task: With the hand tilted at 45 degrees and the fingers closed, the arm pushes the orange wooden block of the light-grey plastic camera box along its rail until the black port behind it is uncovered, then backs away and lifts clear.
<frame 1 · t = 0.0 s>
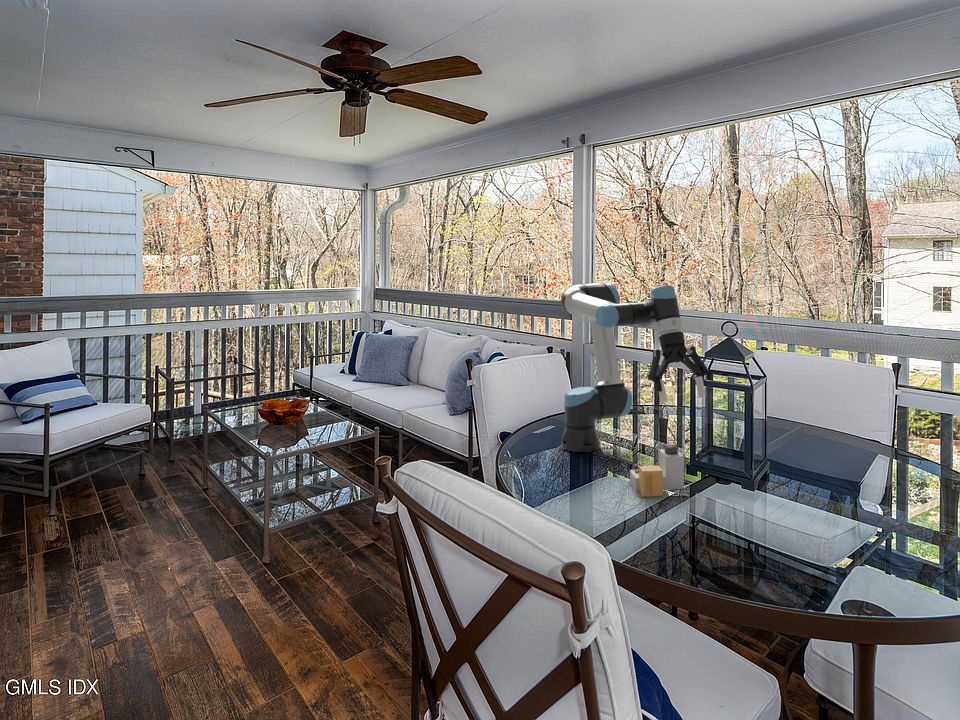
hand: (683, 399, 177), 28 cm above the table, tool tilted 20°, fingers open, 13 cm apart
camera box: (656, 486, 181), on the table
ceramic mug: (670, 472, 194), on the table
orange wooden block: (656, 486, 181), resting on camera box, slide at 0.0 cm
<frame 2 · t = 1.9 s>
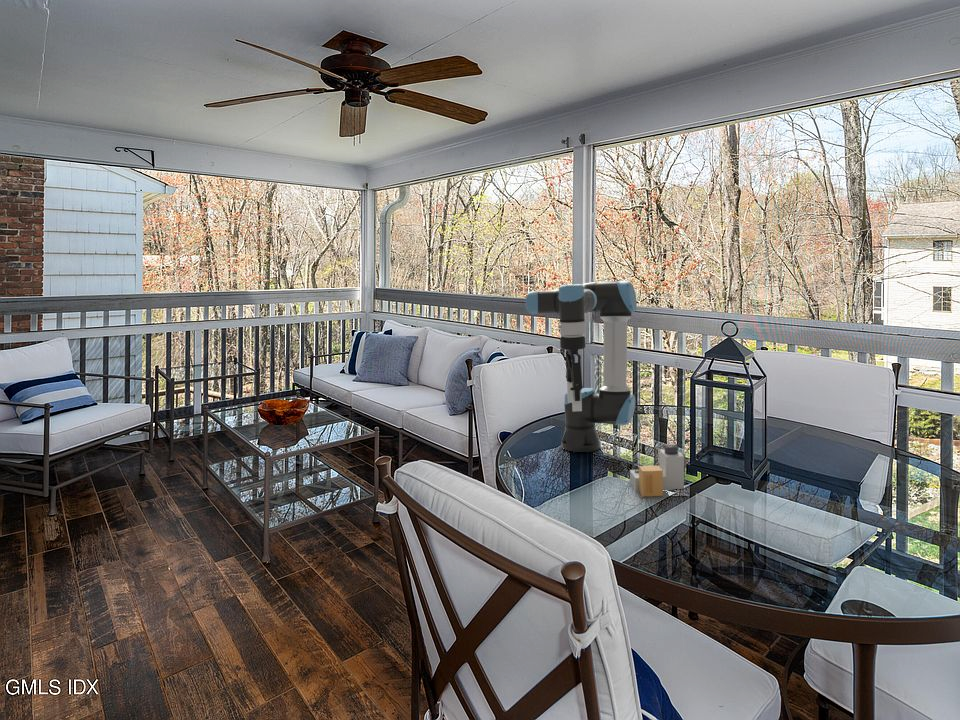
hand: (574, 406, 176), 28 cm above the table, tool pointing down, fingers open, 11 cm apart
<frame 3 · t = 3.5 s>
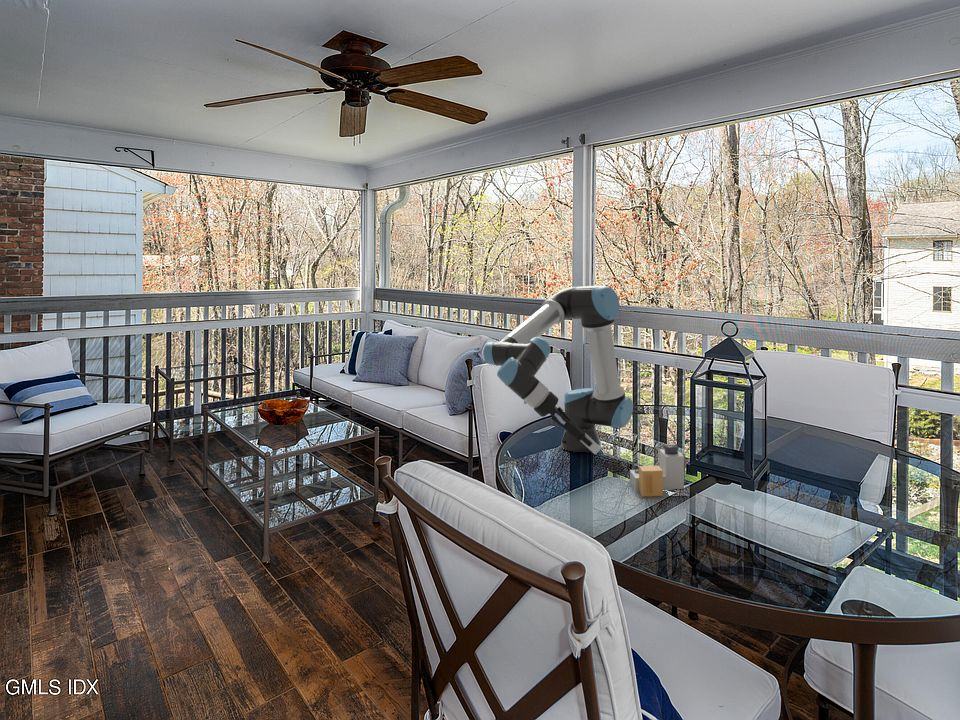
hand: (597, 450, 173), 15 cm above the table, tool tilted 45°, fingers closed
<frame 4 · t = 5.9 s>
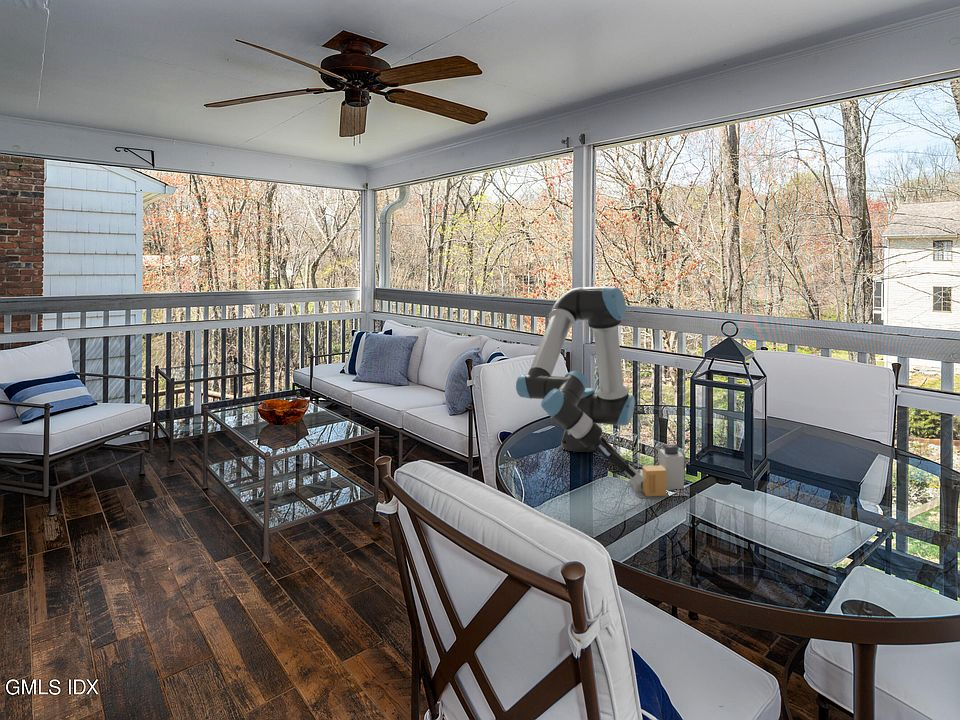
hand: (640, 481, 174), 5 cm above the table, tool tilted 45°, fingers closed
orange wooden block: (659, 486, 181), resting on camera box, slide at 1.1 cm, touching gripper
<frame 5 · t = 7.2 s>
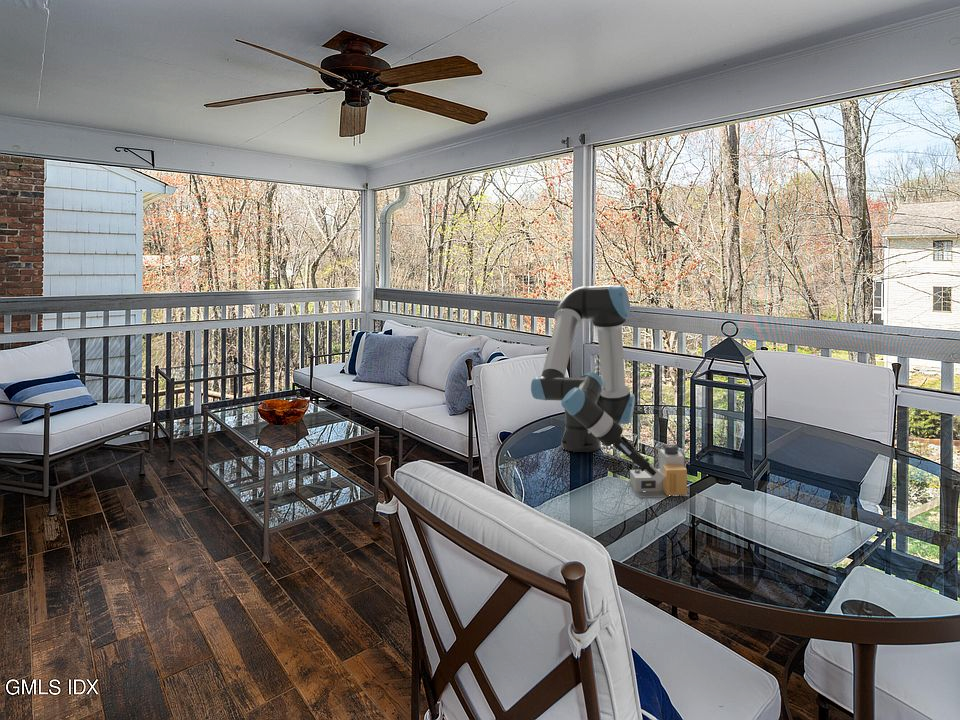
hand: (661, 479, 174), 5 cm above the table, tool tilted 45°, fingers closed
orange wooden block: (679, 485, 181), resting on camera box, slide at 7.3 cm, touching gripper
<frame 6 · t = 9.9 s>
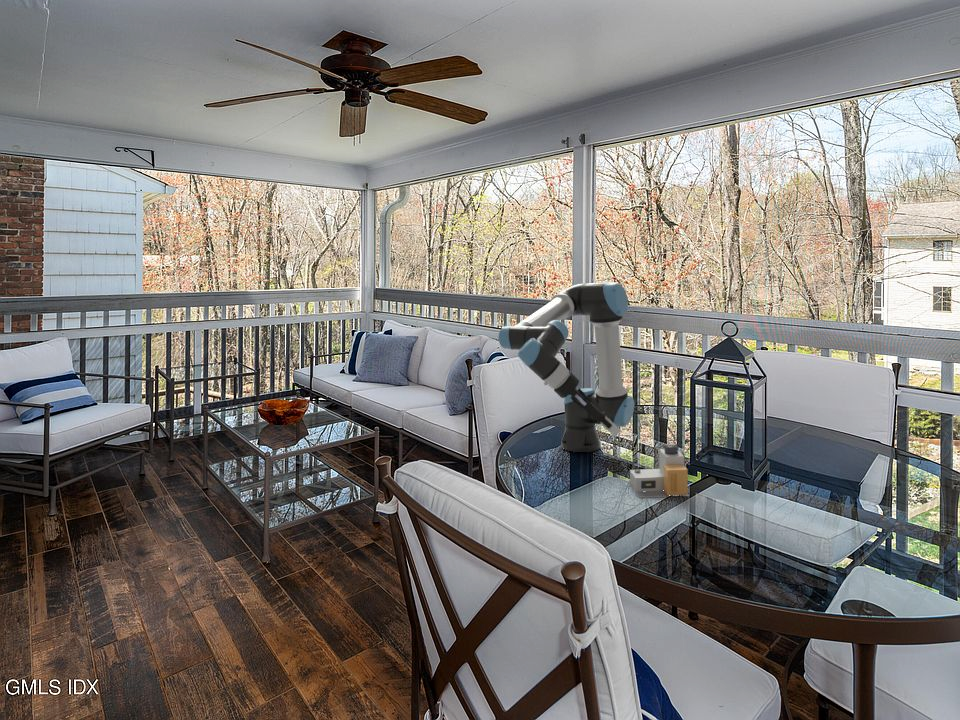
hand: (617, 433, 173), 20 cm above the table, tool tilted 45°, fingers closed
orange wooden block: (680, 485, 181), resting on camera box, slide at 7.5 cm
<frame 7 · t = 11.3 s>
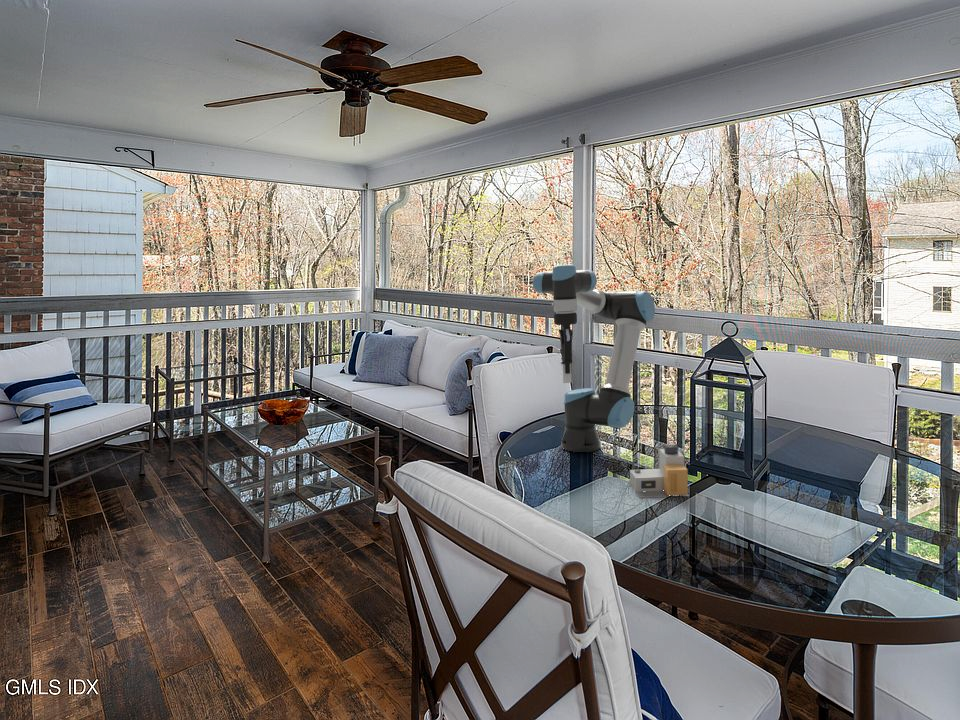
hand: (567, 382, 191), 32 cm above the table, tool pointing down, fingers closed
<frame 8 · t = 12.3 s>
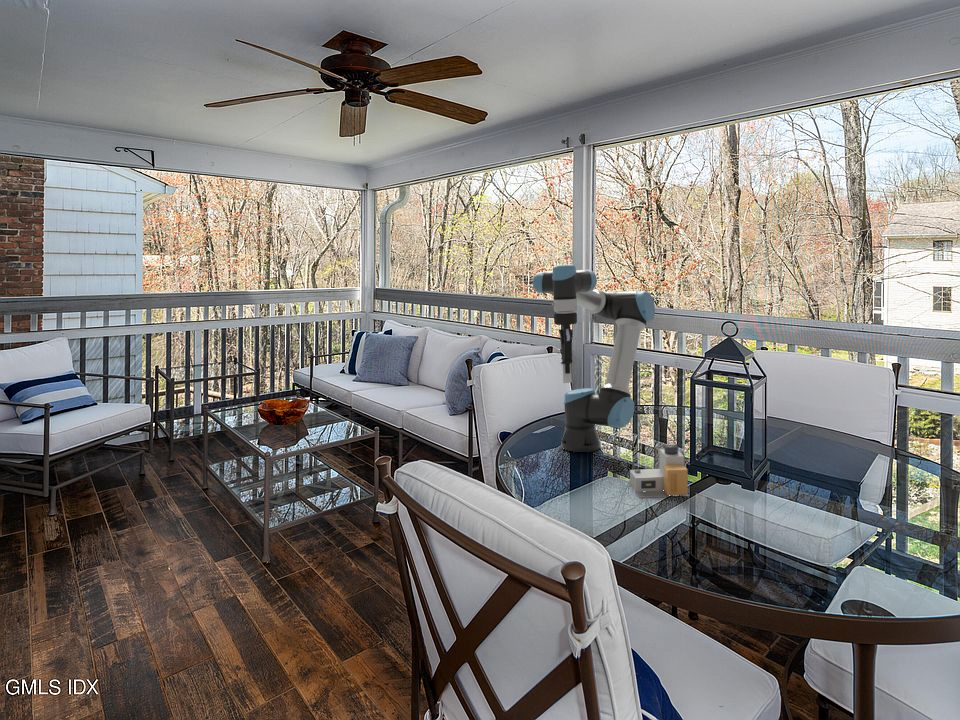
hand: (567, 382, 191), 32 cm above the table, tool pointing down, fingers closed
at the end: orange wooden block slide at 7.5 cm; the gripper is holding nothing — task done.
